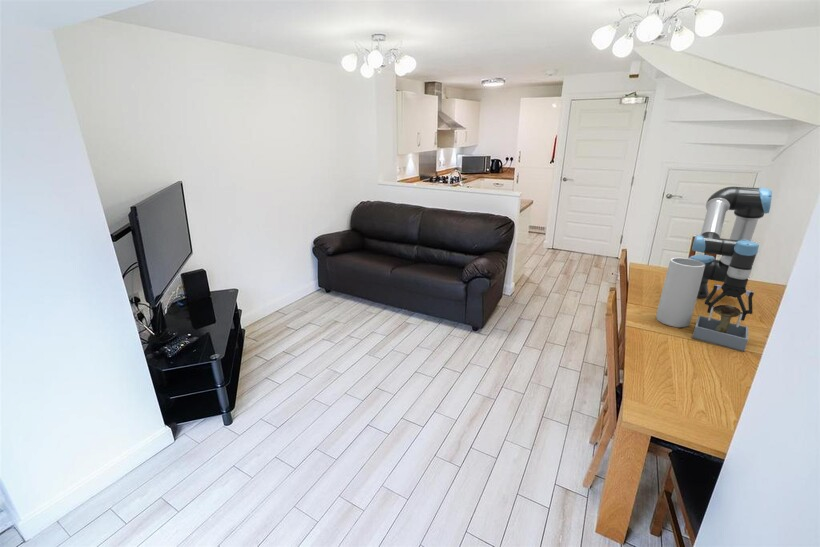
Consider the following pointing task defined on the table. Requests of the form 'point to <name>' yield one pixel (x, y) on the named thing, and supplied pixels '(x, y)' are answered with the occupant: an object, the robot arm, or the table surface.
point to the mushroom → (725, 316)
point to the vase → (680, 291)
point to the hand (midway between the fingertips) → (722, 322)
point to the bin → (721, 334)
